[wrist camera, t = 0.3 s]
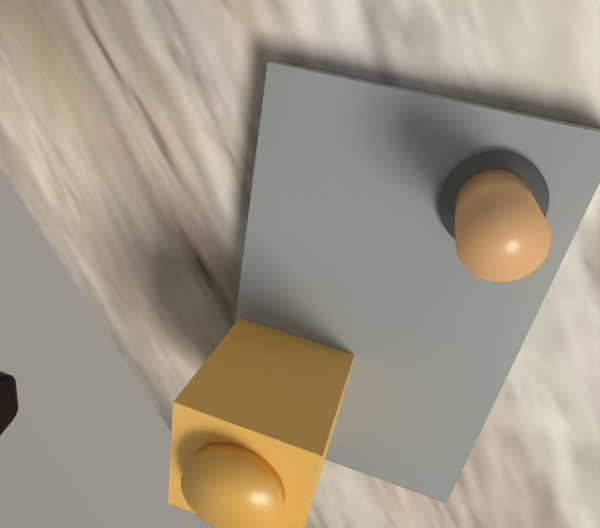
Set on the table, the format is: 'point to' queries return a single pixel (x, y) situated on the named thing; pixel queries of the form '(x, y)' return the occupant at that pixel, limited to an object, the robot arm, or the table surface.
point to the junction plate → (408, 253)
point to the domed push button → (256, 428)
